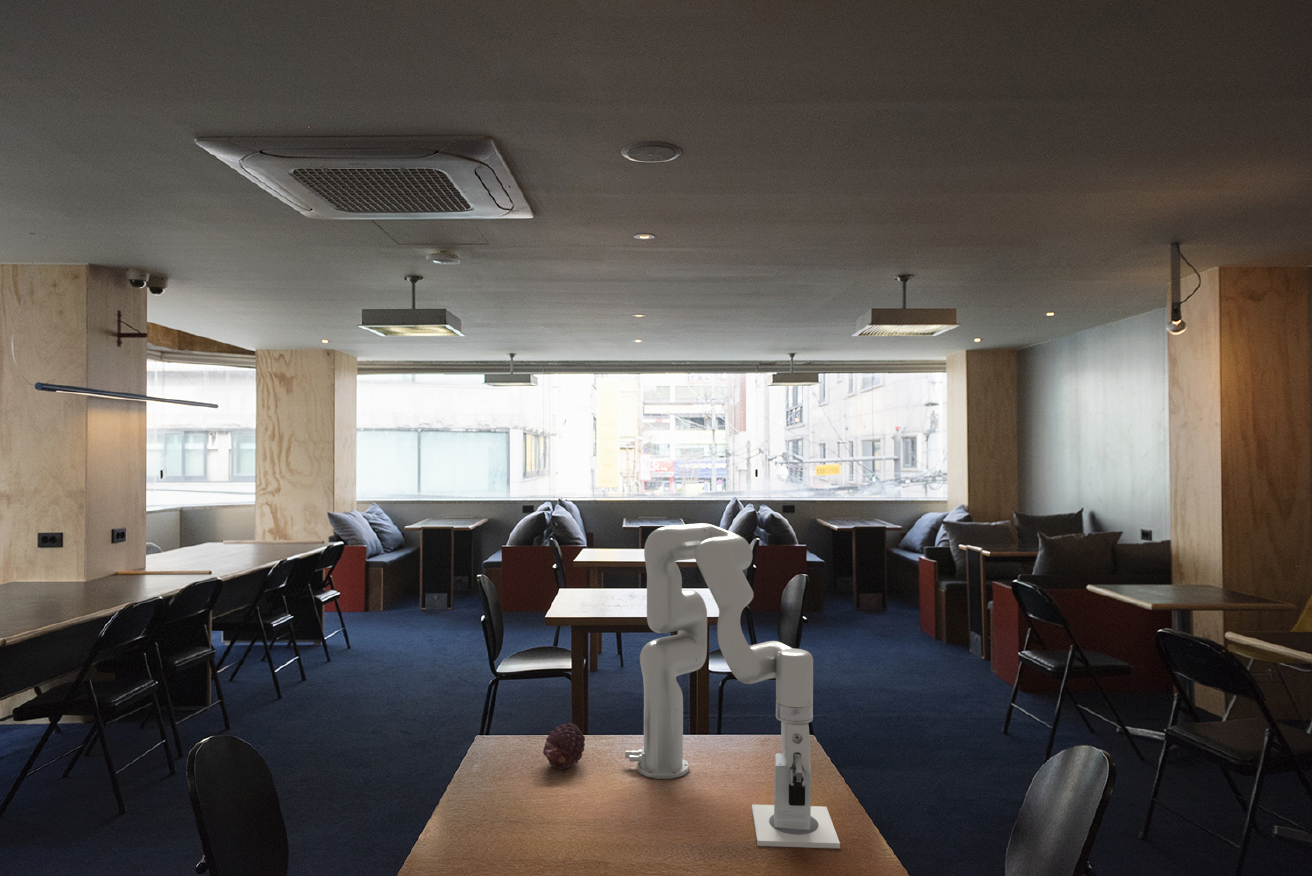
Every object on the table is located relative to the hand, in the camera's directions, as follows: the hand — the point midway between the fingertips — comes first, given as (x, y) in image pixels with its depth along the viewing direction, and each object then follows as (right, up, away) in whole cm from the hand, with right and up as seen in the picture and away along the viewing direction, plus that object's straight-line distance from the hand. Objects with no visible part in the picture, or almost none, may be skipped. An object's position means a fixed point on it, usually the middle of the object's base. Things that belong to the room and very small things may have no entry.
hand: (793, 794), depth 164 cm
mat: (0, -7, 0) cm, 7 cm away
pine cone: (-51, -7, +31) cm, 60 cm away
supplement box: (0, -6, 0) cm, 6 cm away
